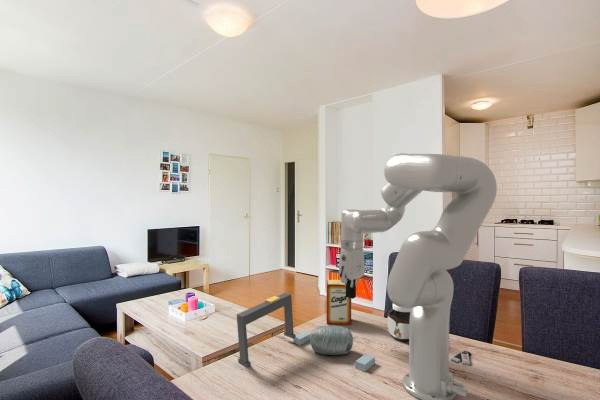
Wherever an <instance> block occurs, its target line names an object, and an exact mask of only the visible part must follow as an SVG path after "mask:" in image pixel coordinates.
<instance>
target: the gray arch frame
mask: <svg viewBox="0 0 600 400" xmlns="http://www.w3.org/2000/svg"><path fill="white" fill-rule="evenodd" d="M282 308H283V312H284V314H283V315H284V327H285V329H284V330H285V331H283V335H284V336H285V337H288V338H290V339H294V338H295V337H296V335H297V334H295V333H294V319H293V317H294V315H293V300H292V294H291V293H287V292H283V293H281V294H279V295H273V296H271V297H268V298H267V299H265V301H263V302H261V303H259V304H257V305H255V306H252V307H250V308H248V309H245V310H244V311H241V312H239V313H237V314H236V324H237V326H236V327H237V337H238V348H239V350H238V351H239V358H238V359H237V362H238V363H239V364H240V365H243V366H245V367H246V368H249V367H251V366H252V364H251V363H252V362H251V360H249V348H248V346H249V345H248V335H247V334H248V333H247V325H249V324H251V323H253V322H256V321H257V320H259V319H261V318H263V317H265V316H267V315H269V314H271V313H273V312H275V311H277V310H279V309H282Z"/></svg>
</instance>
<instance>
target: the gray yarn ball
mask: <svg viewBox="0 0 600 400" xmlns="http://www.w3.org/2000/svg"><path fill="white" fill-rule="evenodd" d="M310 333H311V334H310V340H309V341H310V345H311V349H312V350H313V351H314V353H315V352H316V353H317V354H321V355H327V356H328V355H329V356H330V355H331V356H337V355H338V356H339V355H346V354H349V353H350V352H351V351H352V349H353V345H354V337H353V334H352V332H351V330H350V329H349V328H347V327H345V326H341V325H335V324H325V325H320V326H316V327H315V328H314V329H312V331H311V332H310Z"/></svg>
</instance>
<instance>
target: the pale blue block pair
mask: <svg viewBox="0 0 600 400" xmlns="http://www.w3.org/2000/svg"><path fill="white" fill-rule="evenodd" d="M310 334H311V332H308V331H302V332H299V333H298V334H296V337H295V338H294V339H293V338H292V339H293V340H292V341H293V343H294V344H297V345H298V346H301V345H304V344H305V343H307V342H309V341H310ZM375 364H376V356H374V355H372V354H369V353H364V354H363V355H361V357H359V358H358V359H356V360H355V369H357V370H359V371H362V372H366V371H368V370H369V369H370V368H371V367H373V366H374V365H375Z"/></svg>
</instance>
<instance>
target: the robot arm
mask: <svg viewBox="0 0 600 400" xmlns="http://www.w3.org/2000/svg"><path fill="white" fill-rule="evenodd" d="M384 166H385V167H384V171H383V173H384V174H383V175H384V178H385V180H386V182H385V184H384V185H383V186H381V189H380V191H381V192H380V195H381V197H382V200H383V201H384V202H385V203H386V205H384V207H382V208H380V209H354V208H353V209H344V210H342V211H341V221H340V222H341V223H340V224H341V227H340V229H341V230H340V235H341V236H340V253H339V254H340V255H339V261H338V265H339V266H338V276H339V278H341V279H340V280H341V283H345V286H346V297H348V298H351V300H352V299H355V298H357V286H358V281H359V279H360V278H362V277H363V276H365V270H366V269H365V265H366V264H365V254H364V253H365V252H364V249H363V248H364V246H363V245H364V234H372V233H373V234H374V233H384V232H387V231H389V230H390V229H392V228H393V227H394V226H396V225H397V224H398V223H399V222H400V221H401V220H402V219H403V216H404V215H405V210H406V206H407V205H408V204H409V203H410V202H412V201H413V200H414V199H416V197H417V196H418V195H420V194H421V193H422V192H423V191H424V192H432V193H456V195H455V197H454V198H453V199H452V200H451V201H450V202H449V203H448V204H447V205H446V207H445V208H444V209H443V211H442V212H441V216H440V218H439V220H438V222H437V223H436V226H435V227H434V228H433V229H431V230H423V231H417V232H414V233H411V234H410V235H409V236H408V237H407V238H406V239H404V241H403V243H402V245H401V246H400V249H399V251H398V253H397V255H396V258H395V260H394V263H393V264H392V268H391V270H390V273H389V275H388V278H387V282H386V290H387V296H388V297H389V300H390V302H392V304H393V303H394V304H395V305H396V306H398V307H400V308H405V309H410V308H411V312H410V323H409V342H408V343H409V344H408V345H409V347H408V349H409V351H408V353H409V354H408V355H409V356H408V371H409V372H407V373H406V374H404V375H403V378H402V386H403V388H404V389H405V390H406V391H407V392H408V393H409V394H410V395H411V396H414V397H415V398H417V399H418V400H454V399H455V398H456V397H457V396H459V397H461V398H464V399H467V398H468V394H469V393H468V392H469V391H468V389H467V388H465V387H466V385H465V383H462V382H459V381H455V379H454V378H453V373H452V372H450V316H451V307H452V302H453V297H454V280H453V277H452V276H451V274H450V273H449V272H448V270H452V269H454V268H457V267H459V266H460V265H461V264H462V262H463V261H464V259H465V257H466V256H467V254H468V251H469V250H470V248H471V246H472V244H473V242H474V241H475V238H476V236H477V234H478V233H479V230H480V228H481V226H482V224H483V223H484V221H485V219H486V217H487V215H488V213H489V212H490V210H491V209H492V207H493V205H494V203H495V199H496V196H497V191H498V189H497V179H496V178H495V175H494V172H493V170H491V168H490V167H489V166H488V165H487V164H486V163H484V162H482V161H480V160H479V159H476V158H472V157H469V156H468V157H467V156H462V155H460V156H459V155H450V154H443V153H442V154H441V153H404V152H403V153H402V152H401V153H396V154H394V155H393V156H391V157H390V158H389V159H388V160H387V162H386V164H385V165H384ZM456 395H457V396H456Z"/></svg>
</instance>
